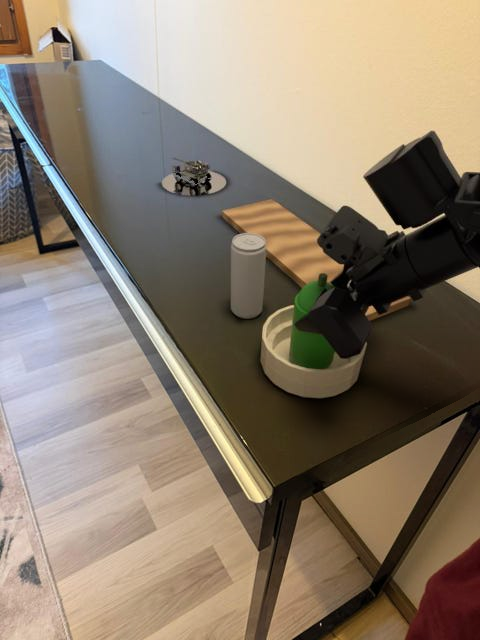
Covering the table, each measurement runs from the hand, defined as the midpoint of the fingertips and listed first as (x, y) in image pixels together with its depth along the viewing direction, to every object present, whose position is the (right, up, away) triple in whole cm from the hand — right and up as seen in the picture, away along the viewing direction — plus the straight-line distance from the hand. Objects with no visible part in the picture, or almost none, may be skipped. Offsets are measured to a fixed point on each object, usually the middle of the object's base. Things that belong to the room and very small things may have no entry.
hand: (306, 312), depth 56 cm
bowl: (+1, -7, +5) cm, 8 cm away
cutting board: (+3, +11, +26) cm, 28 cm away
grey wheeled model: (-19, +31, +51) cm, 63 cm away
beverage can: (-7, 0, +13) cm, 15 cm away
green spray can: (+1, -5, +3) cm, 7 cm away
